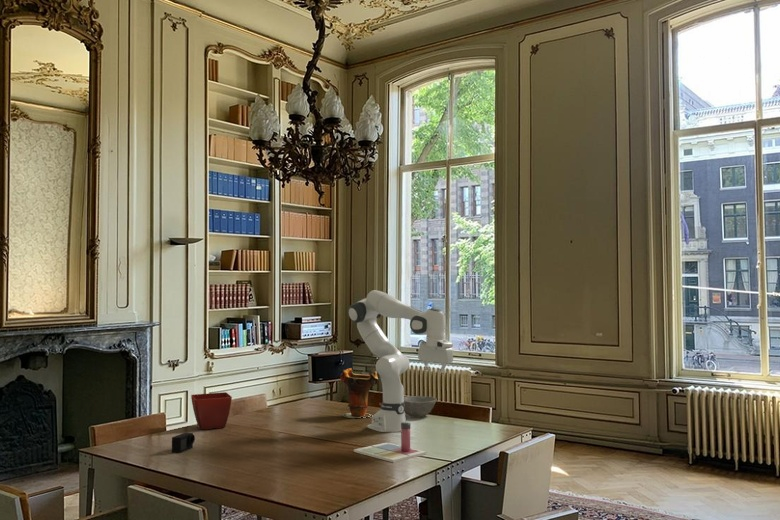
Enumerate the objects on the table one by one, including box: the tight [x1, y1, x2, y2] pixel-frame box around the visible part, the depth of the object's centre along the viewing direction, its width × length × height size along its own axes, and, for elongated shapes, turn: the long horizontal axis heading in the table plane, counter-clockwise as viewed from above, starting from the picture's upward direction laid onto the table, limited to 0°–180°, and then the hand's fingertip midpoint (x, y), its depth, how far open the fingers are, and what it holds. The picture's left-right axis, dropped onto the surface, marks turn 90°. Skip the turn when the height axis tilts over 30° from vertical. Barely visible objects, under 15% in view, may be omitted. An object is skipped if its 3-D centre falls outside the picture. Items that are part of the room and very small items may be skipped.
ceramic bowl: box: [404, 395, 438, 418], centre depth 371 cm, size 22×23×10 cm
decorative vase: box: [339, 367, 379, 419], centre depth 373 cm, size 20×22×27 cm
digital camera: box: [171, 432, 196, 454], centre depth 291 cm, size 10×5×7 cm, turn 165°
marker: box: [400, 421, 411, 452], centre depth 282 cm, size 4×4×12 cm
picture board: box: [353, 442, 428, 463], centre depth 282 cm, size 26×20×1 cm
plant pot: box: [190, 391, 233, 430], centre depth 344 cm, size 19×19×17 cm
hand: (434, 371), depth 306 cm, fingers open, 8 cm apart
